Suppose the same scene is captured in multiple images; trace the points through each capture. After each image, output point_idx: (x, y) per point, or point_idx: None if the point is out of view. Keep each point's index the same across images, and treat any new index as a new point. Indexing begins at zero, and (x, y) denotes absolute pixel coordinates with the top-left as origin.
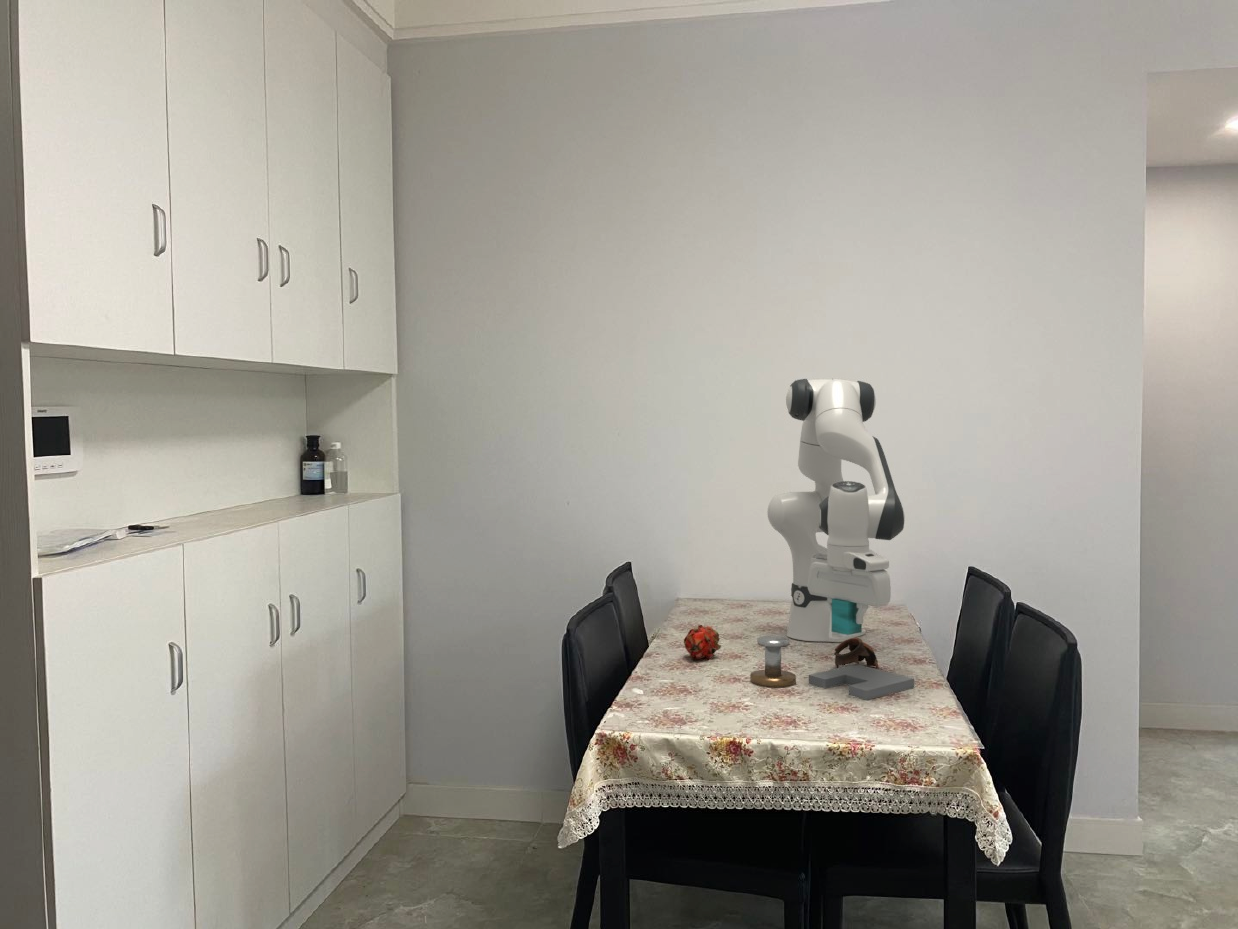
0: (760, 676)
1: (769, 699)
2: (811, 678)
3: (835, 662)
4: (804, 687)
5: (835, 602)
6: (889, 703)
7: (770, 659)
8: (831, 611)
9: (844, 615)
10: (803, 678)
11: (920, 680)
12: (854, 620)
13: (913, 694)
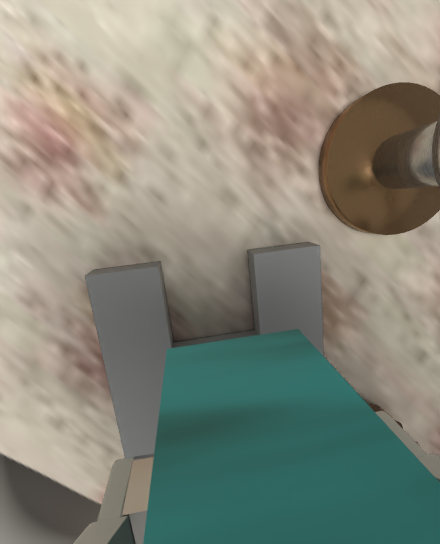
0: (409, 112)
1: (247, 5)
2: (305, 245)
3: (381, 410)
4: (289, 206)
5: (405, 539)
6: (38, 304)
7: (434, 124)
8: (422, 450)
9: (202, 435)
10: (357, 268)
11: None
12: (148, 467)
13: (84, 415)
